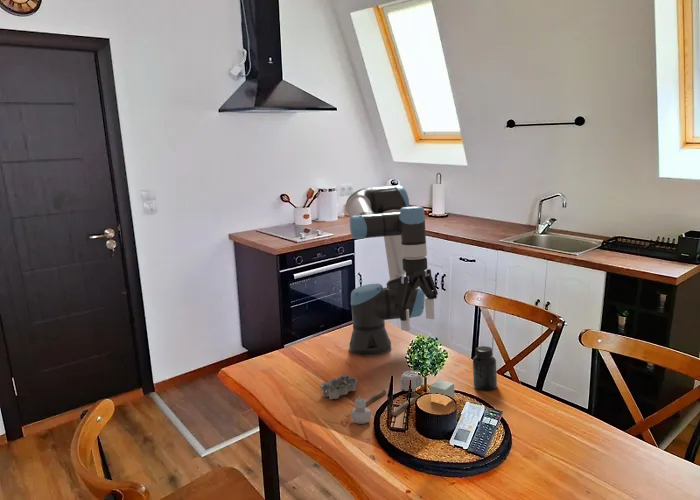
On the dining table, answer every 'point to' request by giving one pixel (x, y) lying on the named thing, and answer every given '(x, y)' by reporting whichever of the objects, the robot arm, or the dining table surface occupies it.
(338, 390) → the egg carton
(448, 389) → the sage block
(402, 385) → the die
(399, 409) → the rails
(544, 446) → the dining table surface
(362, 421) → the grey rounded piece
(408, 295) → the robot arm
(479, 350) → the supplement bottle
